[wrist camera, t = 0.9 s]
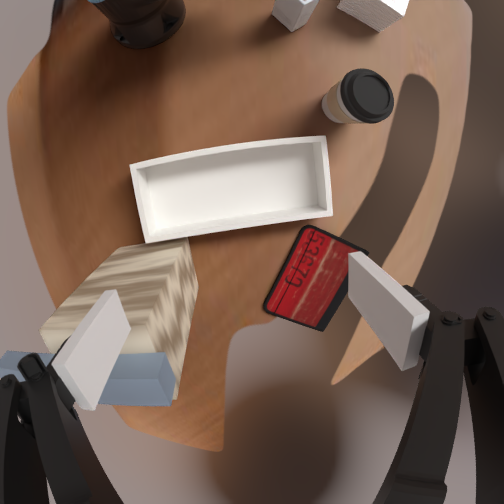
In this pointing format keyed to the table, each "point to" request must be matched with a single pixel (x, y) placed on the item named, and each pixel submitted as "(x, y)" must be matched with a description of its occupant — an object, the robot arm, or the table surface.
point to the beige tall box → (139, 300)
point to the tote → (233, 187)
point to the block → (120, 378)
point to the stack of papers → (375, 11)
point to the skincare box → (293, 12)
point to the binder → (312, 279)
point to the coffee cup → (359, 98)
